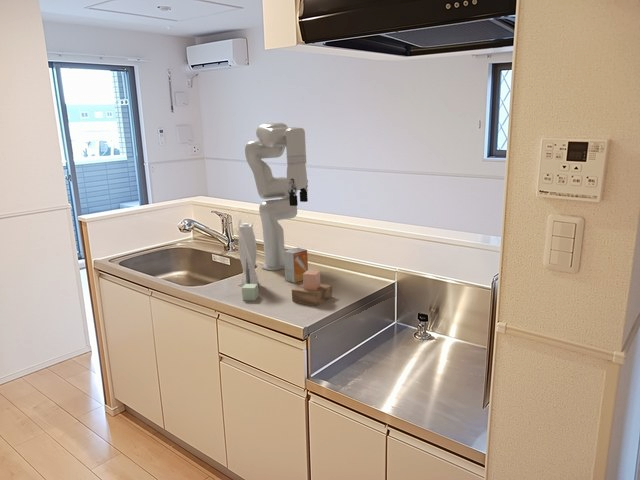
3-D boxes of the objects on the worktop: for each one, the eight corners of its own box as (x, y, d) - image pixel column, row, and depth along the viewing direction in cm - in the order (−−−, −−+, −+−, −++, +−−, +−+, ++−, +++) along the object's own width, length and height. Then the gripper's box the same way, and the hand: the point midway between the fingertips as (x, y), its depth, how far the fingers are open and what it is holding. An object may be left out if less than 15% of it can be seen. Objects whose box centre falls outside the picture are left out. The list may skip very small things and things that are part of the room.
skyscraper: (236, 285, 214) (230, 220, 207) (250, 280, 219) (246, 217, 213) (248, 289, 208) (243, 222, 202) (263, 284, 214) (258, 219, 207)
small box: (294, 283, 212) (293, 253, 209) (285, 280, 217) (283, 251, 214) (308, 278, 218) (307, 249, 215) (299, 275, 222) (297, 247, 219)
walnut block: (308, 293, 200) (307, 281, 199) (332, 297, 194) (331, 285, 193) (292, 302, 191) (291, 289, 190) (316, 306, 185) (316, 293, 184)
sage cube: (246, 295, 200) (245, 283, 198) (258, 295, 199) (257, 283, 198) (242, 300, 195) (241, 288, 194) (255, 300, 194) (254, 288, 193)
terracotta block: (308, 285, 194) (307, 270, 193) (320, 286, 193) (319, 271, 191) (303, 289, 190) (302, 273, 189) (316, 290, 188) (315, 274, 187)
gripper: (297, 158, 206) (299, 200, 210) (278, 162, 190) (280, 207, 194) (314, 158, 203) (315, 200, 207) (296, 162, 188) (298, 207, 192)
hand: (298, 203), depth 201 cm, fingers open, 9 cm apart
